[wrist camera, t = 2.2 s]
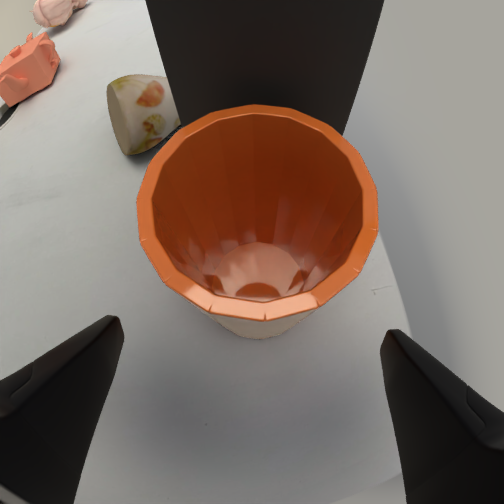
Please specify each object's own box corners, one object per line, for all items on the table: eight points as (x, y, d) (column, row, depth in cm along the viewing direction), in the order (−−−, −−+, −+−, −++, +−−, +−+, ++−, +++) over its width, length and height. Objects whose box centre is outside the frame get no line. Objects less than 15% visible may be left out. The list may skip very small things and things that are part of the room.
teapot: (75, 46, 33) (59, 11, 25) (57, 97, 29) (31, 54, 21) (21, 76, 33) (2, 45, 25) (-3, 132, 28) (-32, 99, 20)
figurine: (56, 28, 44) (30, 45, 34) (45, -6, 34) (15, 2, 24) (95, 9, 44) (77, 19, 35) (86, -27, 35) (64, -26, 25)
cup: (320, 323, 20) (412, 278, 7) (219, 349, 19) (154, 345, 7) (292, 230, 22) (327, 94, 10) (198, 252, 21) (133, 132, 9)
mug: (240, 119, 26) (186, 77, 16) (162, 176, 29) (90, 165, 19) (206, 68, 26) (151, 22, 17) (137, 123, 29) (70, 101, 20)
